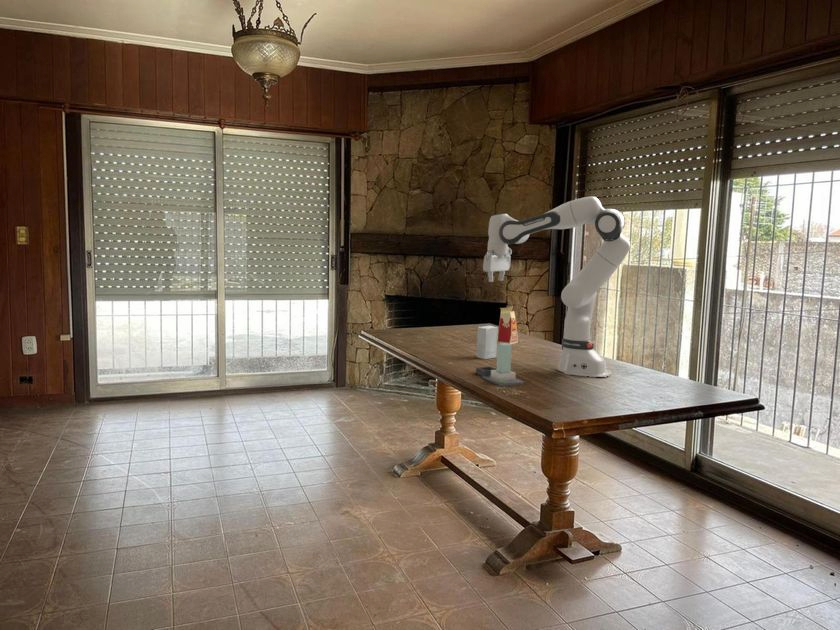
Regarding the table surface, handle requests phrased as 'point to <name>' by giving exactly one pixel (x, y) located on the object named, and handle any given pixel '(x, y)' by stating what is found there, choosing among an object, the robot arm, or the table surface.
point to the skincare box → (487, 342)
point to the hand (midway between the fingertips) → (495, 281)
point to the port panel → (503, 378)
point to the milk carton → (507, 326)
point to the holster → (484, 370)
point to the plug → (504, 358)
